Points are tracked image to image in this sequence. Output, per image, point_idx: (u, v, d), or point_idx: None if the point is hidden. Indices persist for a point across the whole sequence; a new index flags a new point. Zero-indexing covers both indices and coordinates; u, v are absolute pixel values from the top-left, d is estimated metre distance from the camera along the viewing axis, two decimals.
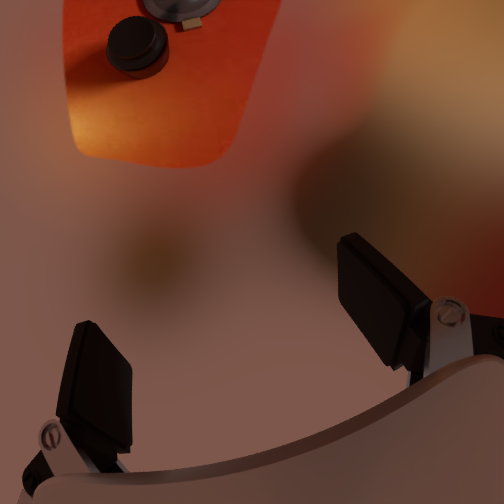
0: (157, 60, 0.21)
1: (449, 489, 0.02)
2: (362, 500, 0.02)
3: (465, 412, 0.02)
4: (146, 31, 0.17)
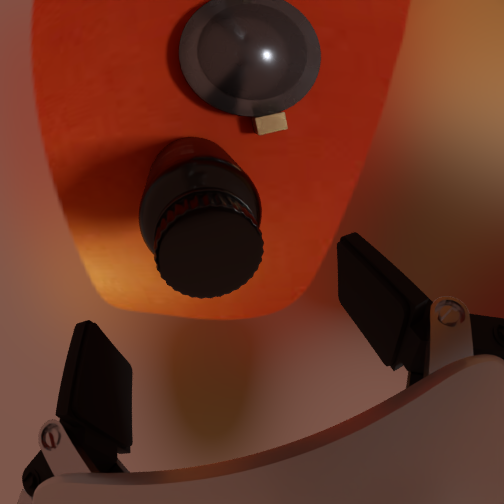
0: None
1: (449, 489, 0.02)
2: (362, 500, 0.02)
3: (465, 412, 0.02)
4: (244, 247, 0.12)
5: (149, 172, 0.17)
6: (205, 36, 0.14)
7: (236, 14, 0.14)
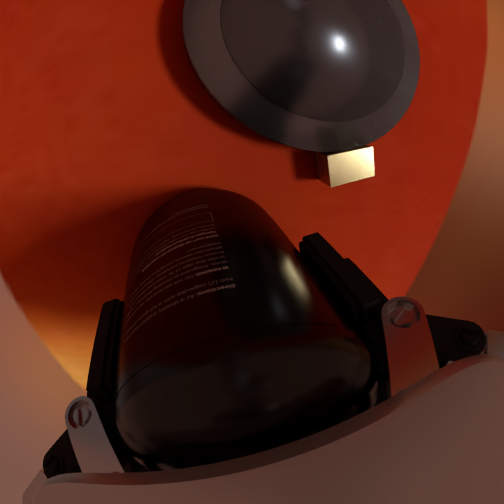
0: None
1: (449, 489, 0.02)
2: (362, 500, 0.02)
3: (465, 412, 0.02)
4: None
5: (128, 274, 0.08)
6: None
7: None
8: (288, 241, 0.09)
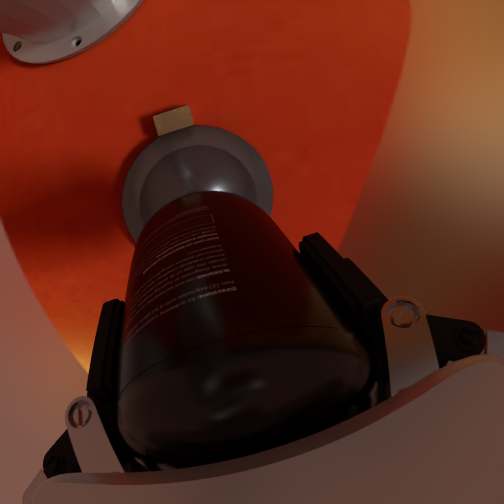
0: None
1: (449, 489, 0.02)
2: (362, 500, 0.02)
3: (465, 412, 0.02)
4: None
5: (129, 276, 0.08)
6: (146, 194, 0.17)
7: (175, 164, 0.17)
8: (289, 243, 0.09)
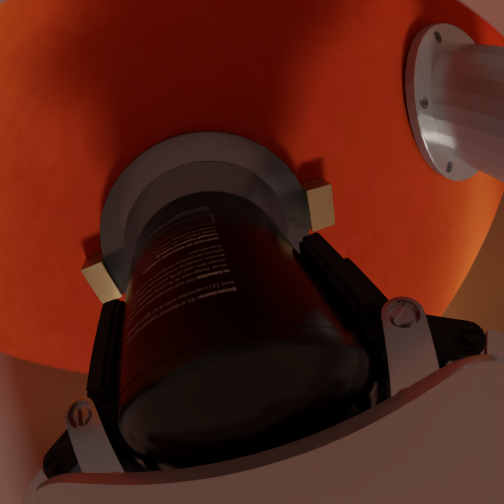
0: None
1: (449, 489, 0.02)
2: (362, 500, 0.02)
3: (465, 412, 0.02)
4: None
5: (129, 276, 0.08)
6: (225, 171, 0.12)
7: (267, 212, 0.13)
8: (289, 243, 0.09)
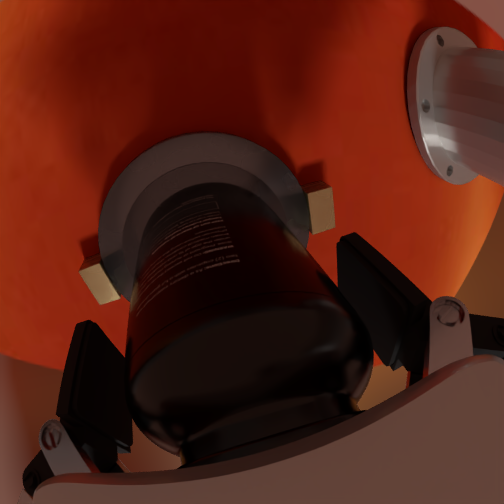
0: None
1: (449, 489, 0.02)
2: (362, 500, 0.02)
3: (465, 412, 0.02)
4: None
5: (137, 260, 0.09)
6: (225, 173, 0.12)
7: None
8: (287, 229, 0.09)
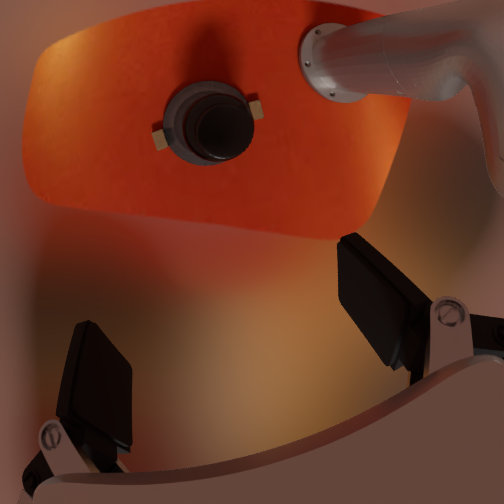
0: None
1: (449, 489, 0.02)
2: (362, 500, 0.02)
3: (465, 412, 0.02)
4: (243, 127, 0.20)
5: None
6: None
7: None
8: None
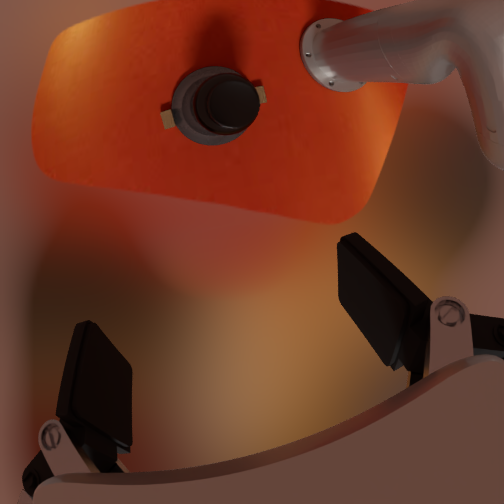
0: (249, 125, 0.26)
1: (449, 489, 0.02)
2: (362, 500, 0.02)
3: (465, 412, 0.02)
4: (250, 100, 0.21)
5: None
6: None
7: None
8: None
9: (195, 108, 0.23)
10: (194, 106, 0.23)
